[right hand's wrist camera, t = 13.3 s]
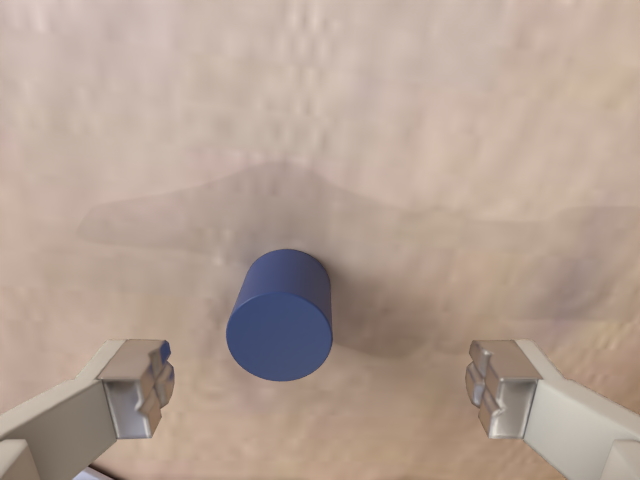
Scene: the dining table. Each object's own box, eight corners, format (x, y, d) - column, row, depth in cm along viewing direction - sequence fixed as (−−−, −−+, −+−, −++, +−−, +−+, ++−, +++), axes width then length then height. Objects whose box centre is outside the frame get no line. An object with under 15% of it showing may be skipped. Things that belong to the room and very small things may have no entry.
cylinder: (246, 323, 22) (228, 380, 18) (243, 247, 20) (222, 290, 16) (328, 325, 22) (330, 383, 18) (332, 250, 20) (334, 293, 16)
